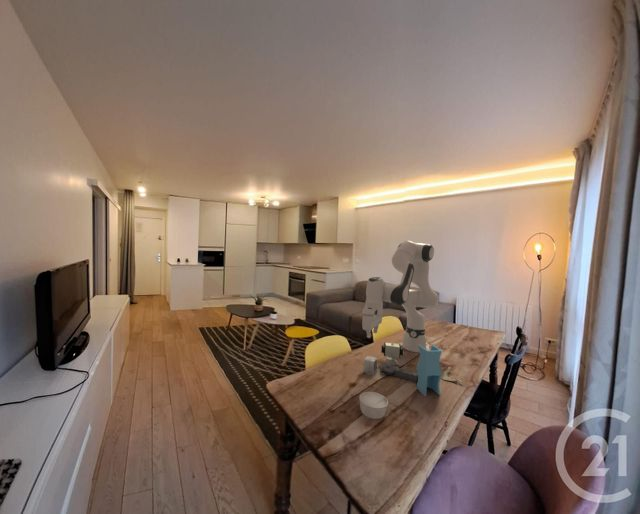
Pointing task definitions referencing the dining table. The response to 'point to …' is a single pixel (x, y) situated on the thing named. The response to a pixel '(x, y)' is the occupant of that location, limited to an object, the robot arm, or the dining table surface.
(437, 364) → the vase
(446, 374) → the jawbone
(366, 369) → the beige rectangular block
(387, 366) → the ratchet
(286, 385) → the dining table surface
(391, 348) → the pneumatic valve
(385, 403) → the ramekin
